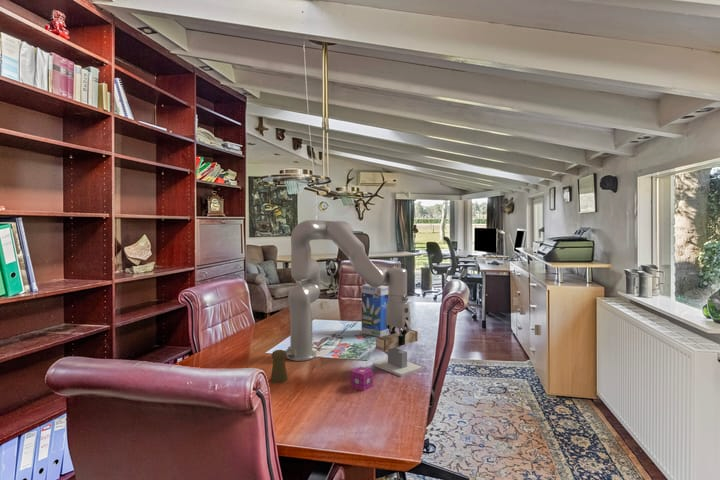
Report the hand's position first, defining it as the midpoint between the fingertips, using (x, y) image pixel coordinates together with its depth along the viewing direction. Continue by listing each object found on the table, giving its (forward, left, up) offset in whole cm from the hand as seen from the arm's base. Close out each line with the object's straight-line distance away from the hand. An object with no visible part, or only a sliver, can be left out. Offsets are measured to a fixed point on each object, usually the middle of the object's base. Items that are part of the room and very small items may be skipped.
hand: (397, 343), depth 156 cm
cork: (-43, +19, -10) cm, 48 cm away
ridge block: (0, 0, -10) cm, 10 cm away
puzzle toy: (-23, -5, -10) cm, 26 cm away
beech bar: (0, 0, 0) cm, 0 cm away
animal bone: (+12, +14, -10) cm, 21 cm away
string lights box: (+26, +42, -10) cm, 50 cm away
